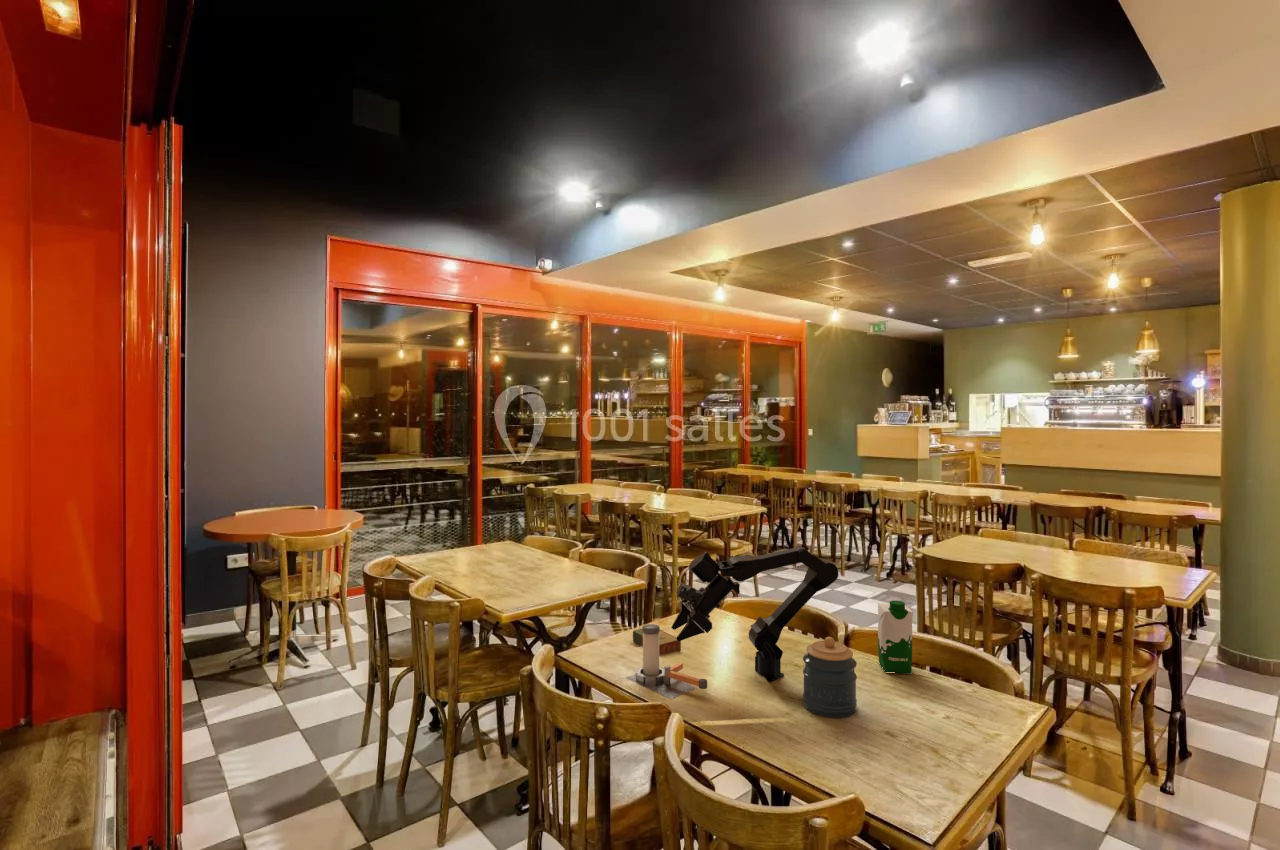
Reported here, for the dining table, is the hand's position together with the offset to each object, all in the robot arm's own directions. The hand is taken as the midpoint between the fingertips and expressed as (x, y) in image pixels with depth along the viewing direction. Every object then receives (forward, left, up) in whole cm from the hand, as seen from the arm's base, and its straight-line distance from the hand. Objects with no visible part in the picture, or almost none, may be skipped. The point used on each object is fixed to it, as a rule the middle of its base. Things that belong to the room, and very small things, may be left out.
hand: (674, 634), depth 175 cm
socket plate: (0, +5, -13) cm, 14 cm away
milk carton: (-37, -53, -13) cm, 66 cm away
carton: (+22, -14, -13) cm, 29 cm away
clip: (-7, +1, -12) cm, 14 cm away
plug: (+4, +5, -12) cm, 14 cm away
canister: (-38, -18, -13) cm, 43 cm away
